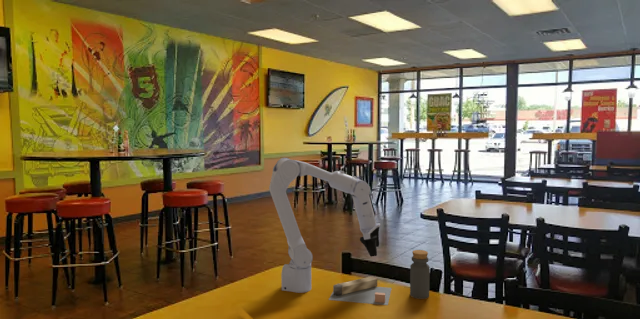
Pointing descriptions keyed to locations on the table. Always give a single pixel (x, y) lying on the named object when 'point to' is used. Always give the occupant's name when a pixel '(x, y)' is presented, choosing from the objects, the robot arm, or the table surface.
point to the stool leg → (354, 285)
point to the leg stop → (380, 297)
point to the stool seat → (364, 296)
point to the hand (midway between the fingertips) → (375, 251)
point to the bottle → (419, 275)
